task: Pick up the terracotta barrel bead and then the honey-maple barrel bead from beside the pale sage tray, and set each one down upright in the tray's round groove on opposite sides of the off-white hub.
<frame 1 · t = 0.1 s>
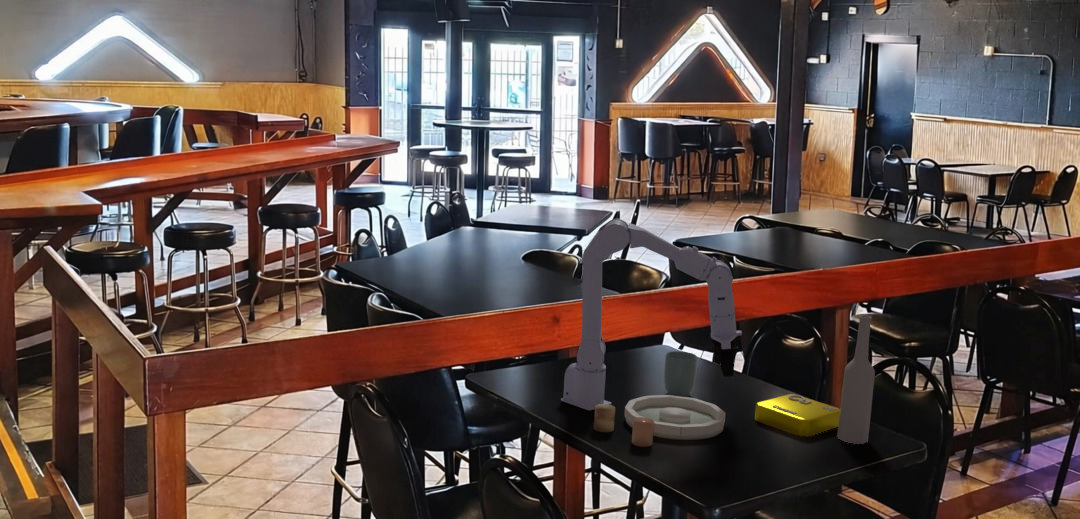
hand: (727, 371, 242), 11 cm above the table, tool pointing down, fingers open, 7 cm apart
groove tray: (674, 422, 237), on the table
terracotta bead: (642, 443, 223), on the table
maple bead: (603, 428, 230), on the table
bottle: (852, 440, 232), on the table
element tile: (797, 425, 241), on the table
cup: (678, 395, 258), on the table
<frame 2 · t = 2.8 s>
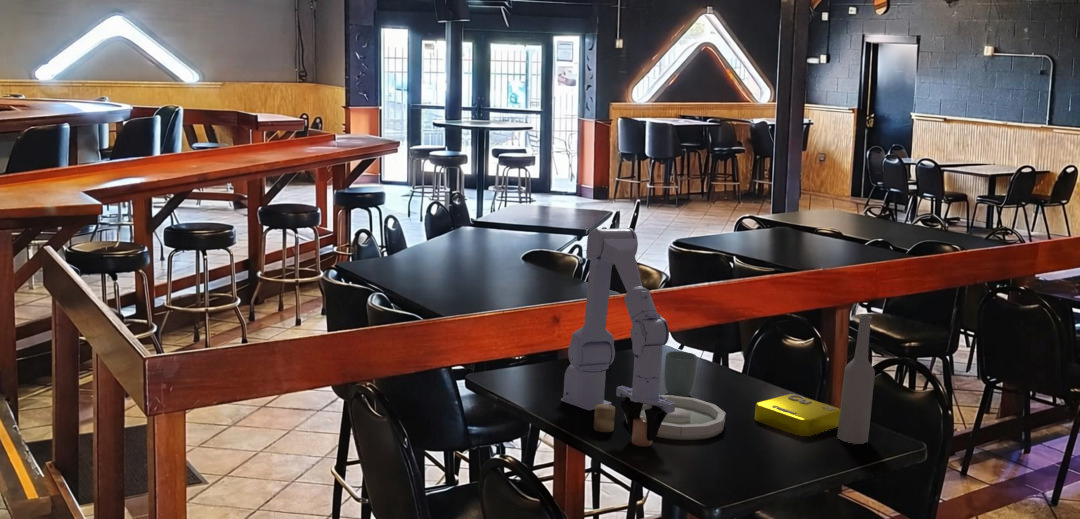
hand: (642, 436, 222), 1 cm above the table, tool pointing down, fingers closed on terracotta bead, 4 cm apart
terracotta bead: (642, 442, 223), on the table, touching gripper
everything else where it was.
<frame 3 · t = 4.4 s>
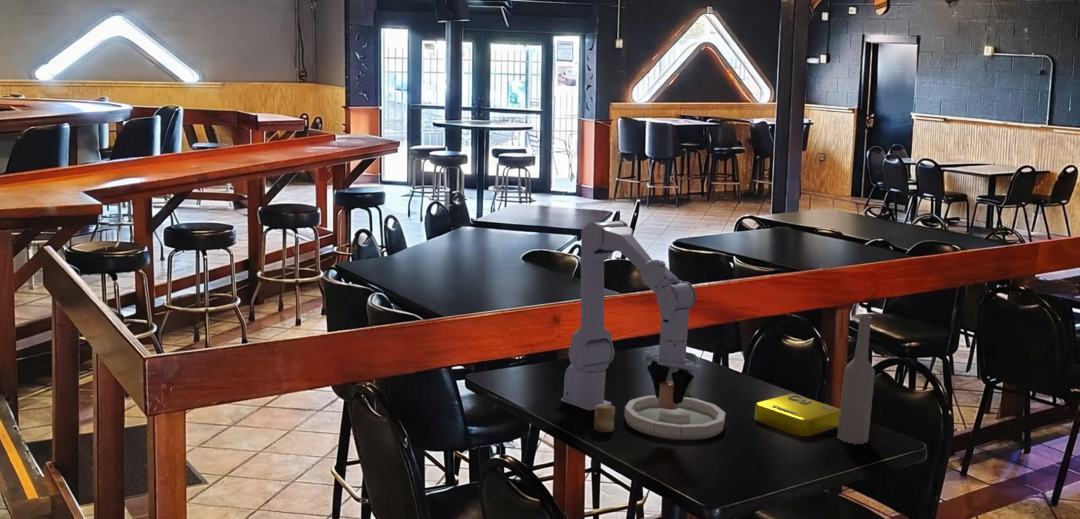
hand: (668, 400, 225), 8 cm above the table, tool pointing down, fingers closed on terracotta bead, 4 cm apart
terracotta bead: (668, 406, 226), point 7 cm above the table, touching gripper
everything else where it was.
when the fingers open (3 cm above the table, at t = 6.2 s): terracotta bead stays where it is, resting on groove tray.
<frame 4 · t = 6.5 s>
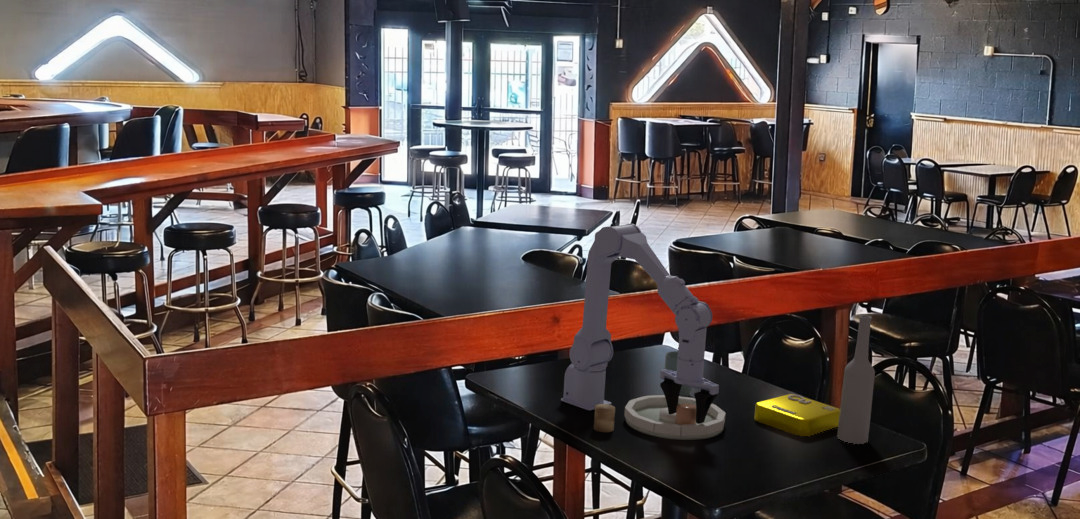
hand: (686, 417, 230), 3 cm above the table, tool pointing down, fingers open, 7 cm apart
terracotta bead: (685, 428, 230), point 1 cm above the table, touching groove tray
everything else where it was.
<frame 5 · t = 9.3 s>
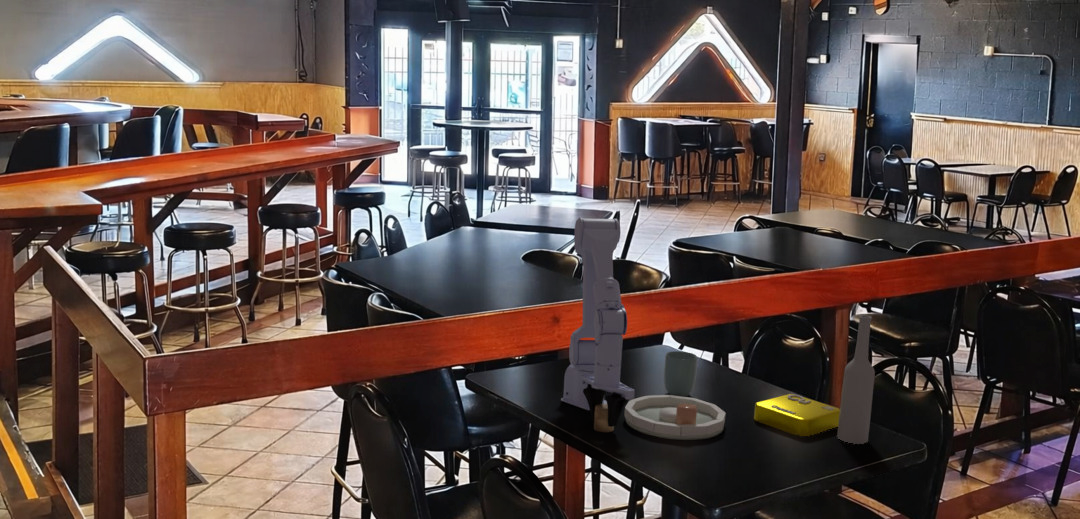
hand: (604, 422, 230), 1 cm above the table, tool pointing down, fingers closed on maple bead, 4 cm apart
maple bead: (603, 428, 230), on the table, touching gripper
everything else where it was.
when the fingers open (3 cm above the table, at t = 13.2 s): maple bead stays where it is, resting on groove tray.
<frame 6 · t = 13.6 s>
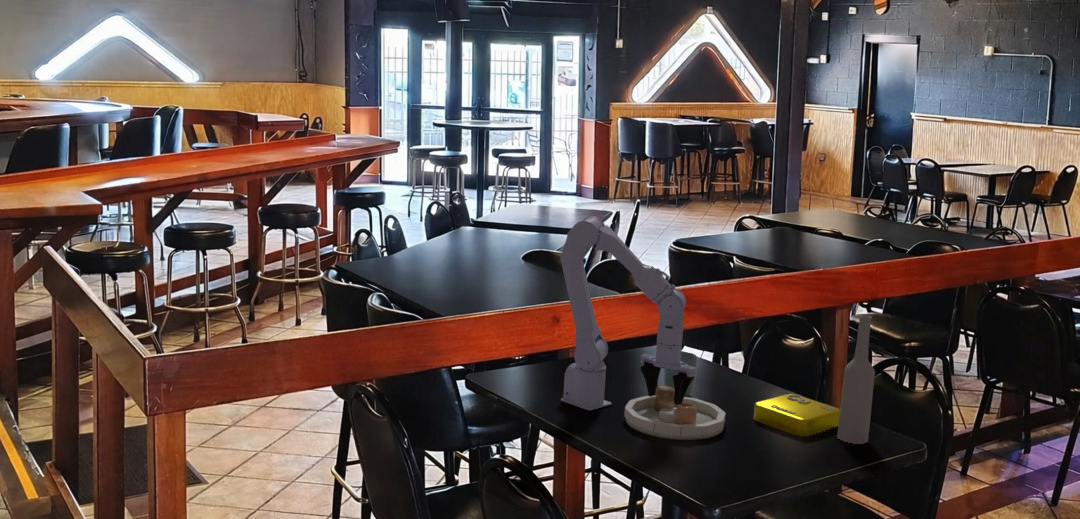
hand: (665, 399, 242), 3 cm above the table, tool pointing down, fingers open, 7 cm apart
maple bead: (663, 409, 242), point 1 cm above the table, touching groove tray
everything else where it was.
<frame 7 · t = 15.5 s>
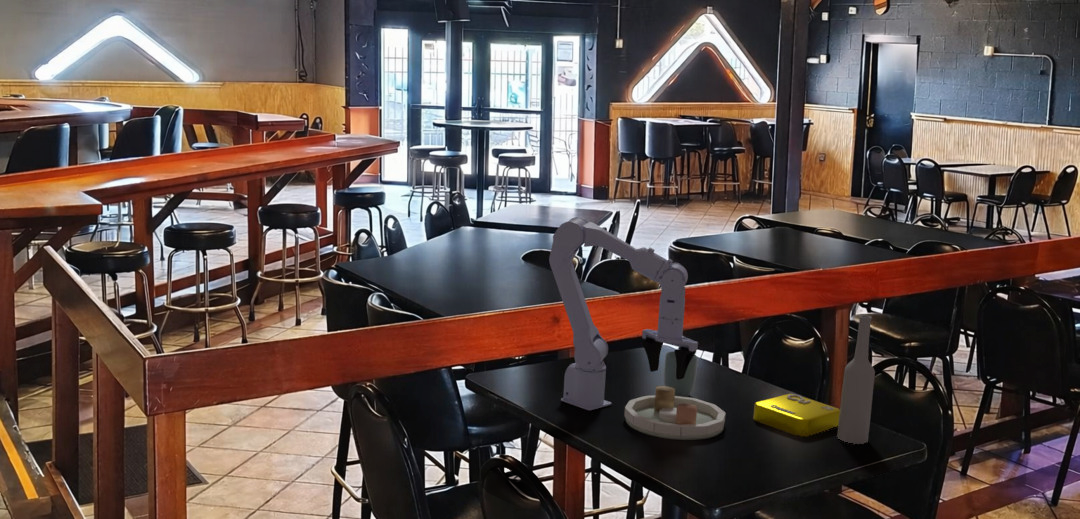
hand: (666, 374, 241), 9 cm above the table, tool pointing down, fingers open, 7 cm apart
nothing on the table moved.
at the end: terracotta bead 0.2 cm from the target spot on the groove tray, point 1.0 cm above the groove tray's base; maple bead 0.2 cm from the target spot on the groove tray, point 1.0 cm above the groove tray's base; maple bead tilted 0° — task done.
